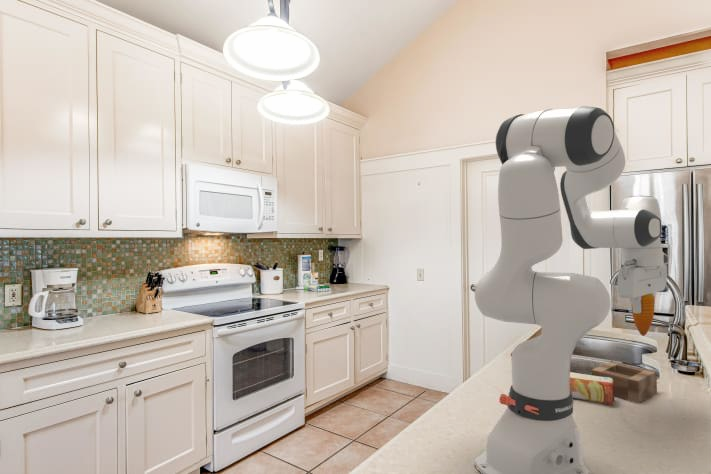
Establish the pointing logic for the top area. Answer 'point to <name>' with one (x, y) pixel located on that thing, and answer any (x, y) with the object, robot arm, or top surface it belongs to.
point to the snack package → (592, 388)
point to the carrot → (644, 314)
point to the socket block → (629, 381)
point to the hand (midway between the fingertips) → (642, 311)
